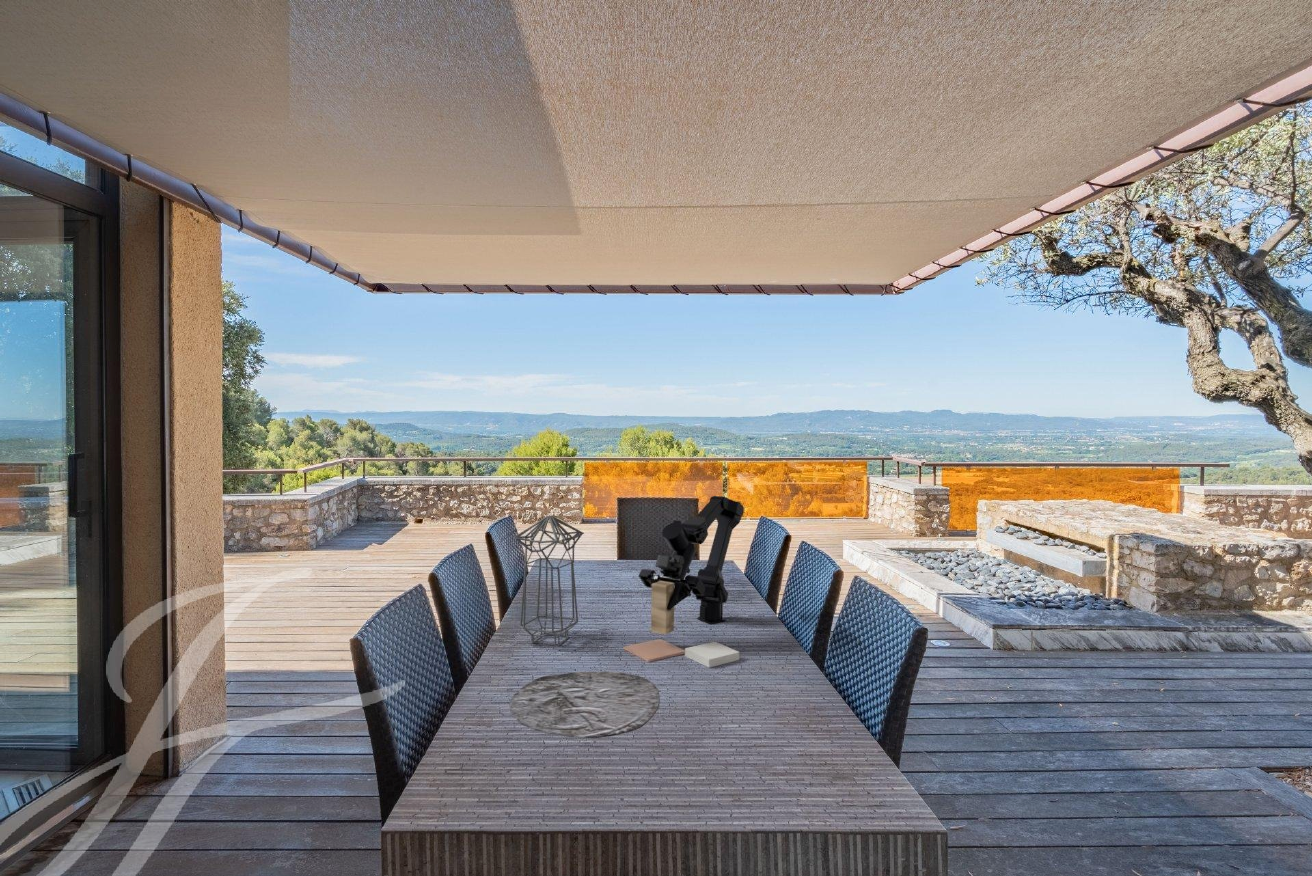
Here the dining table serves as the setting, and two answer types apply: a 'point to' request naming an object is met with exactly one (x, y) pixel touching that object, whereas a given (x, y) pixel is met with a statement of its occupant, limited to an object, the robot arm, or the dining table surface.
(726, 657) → the white square tile
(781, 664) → the dining table surface
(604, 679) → the worn metal disc
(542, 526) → the geometric lantern
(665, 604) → the oak block
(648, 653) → the terracotta tile
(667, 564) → the robot arm
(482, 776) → the dining table surface
